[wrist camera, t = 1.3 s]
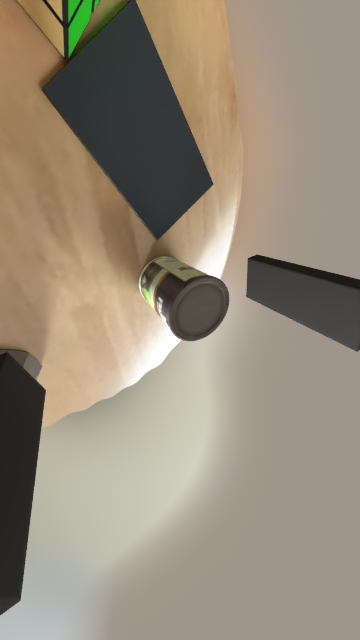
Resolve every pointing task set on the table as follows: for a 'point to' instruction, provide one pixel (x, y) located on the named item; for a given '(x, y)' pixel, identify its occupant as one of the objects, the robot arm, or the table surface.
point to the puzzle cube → (61, 20)
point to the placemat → (132, 120)
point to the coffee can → (184, 297)
